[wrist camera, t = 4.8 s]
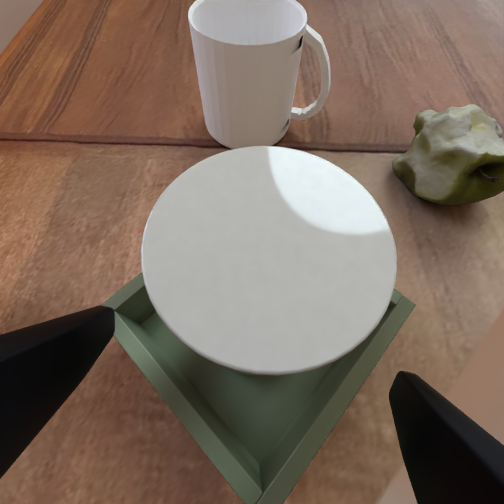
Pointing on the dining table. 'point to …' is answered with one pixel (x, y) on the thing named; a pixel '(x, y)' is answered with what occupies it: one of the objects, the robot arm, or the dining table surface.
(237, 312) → the white cylinder
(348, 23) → the dining table surface
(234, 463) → the wooden box
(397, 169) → the fruit
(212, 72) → the mug
